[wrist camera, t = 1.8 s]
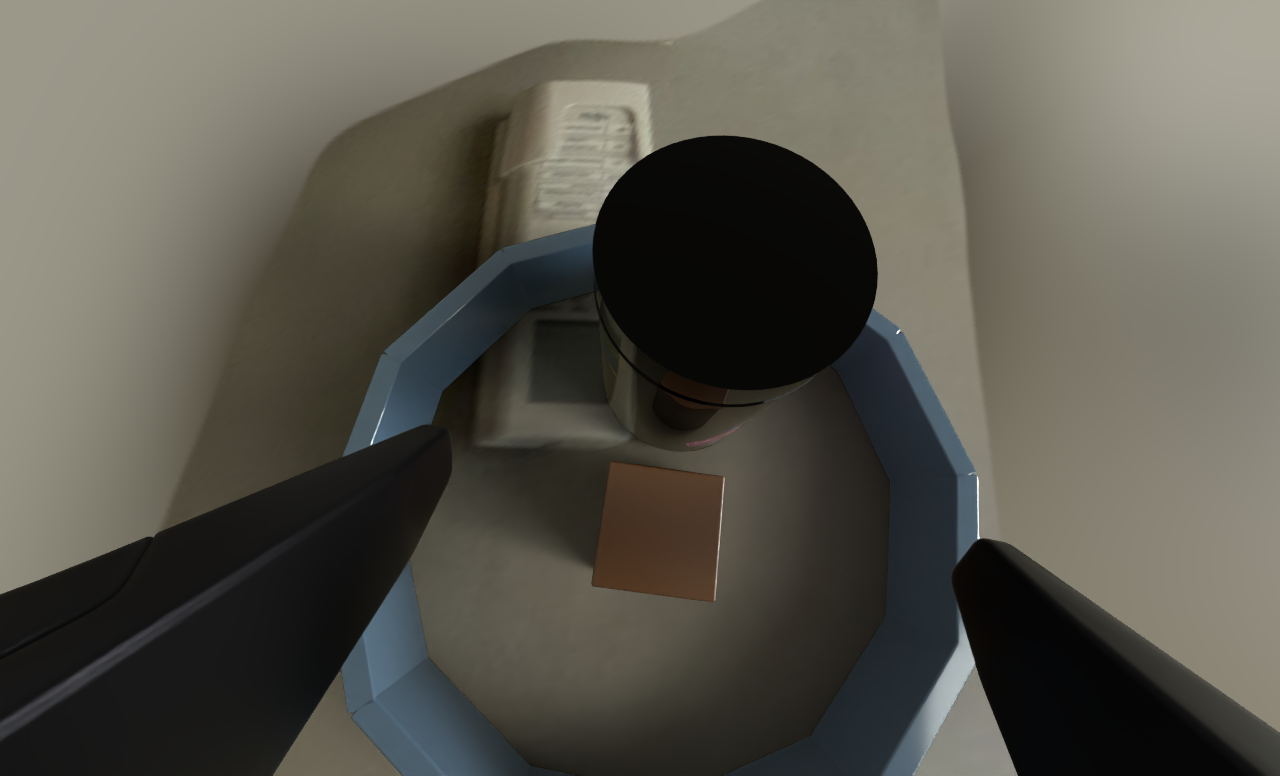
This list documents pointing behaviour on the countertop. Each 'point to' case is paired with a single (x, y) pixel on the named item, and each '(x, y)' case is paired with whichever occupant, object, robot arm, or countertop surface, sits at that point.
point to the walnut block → (660, 532)
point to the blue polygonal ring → (917, 550)
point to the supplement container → (724, 285)
